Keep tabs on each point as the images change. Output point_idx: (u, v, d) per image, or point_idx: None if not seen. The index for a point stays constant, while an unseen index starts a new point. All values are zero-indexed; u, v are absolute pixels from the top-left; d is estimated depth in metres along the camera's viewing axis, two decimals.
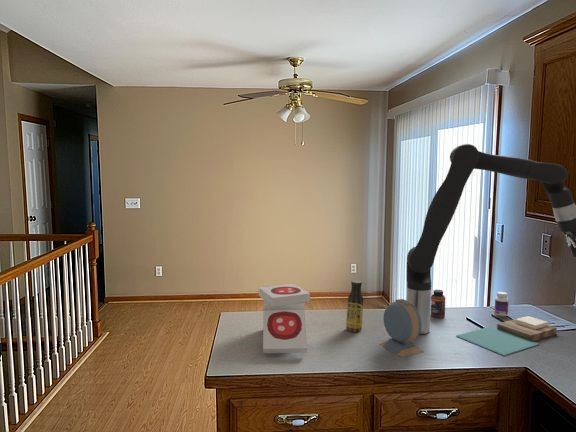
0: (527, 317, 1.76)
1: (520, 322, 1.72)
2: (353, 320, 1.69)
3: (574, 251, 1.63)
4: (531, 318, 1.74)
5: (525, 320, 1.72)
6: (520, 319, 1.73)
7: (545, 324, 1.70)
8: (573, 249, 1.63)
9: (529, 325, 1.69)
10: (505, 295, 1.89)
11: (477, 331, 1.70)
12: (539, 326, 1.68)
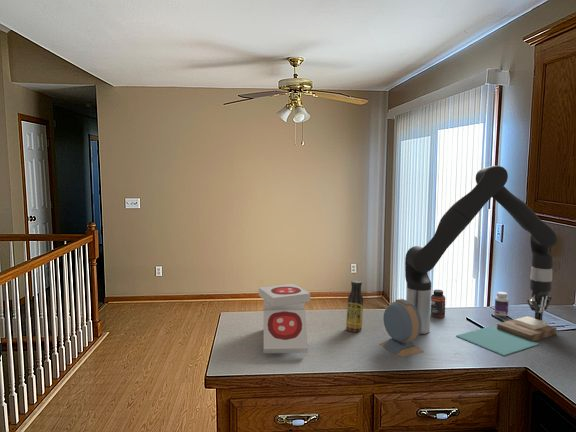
0: (526, 317, 1.75)
1: (519, 322, 1.72)
2: (353, 320, 1.69)
3: None
4: (530, 318, 1.74)
5: (525, 320, 1.72)
6: (519, 319, 1.73)
7: (544, 324, 1.70)
8: None
9: (528, 325, 1.68)
10: (505, 295, 1.89)
11: (477, 331, 1.70)
12: (538, 326, 1.68)
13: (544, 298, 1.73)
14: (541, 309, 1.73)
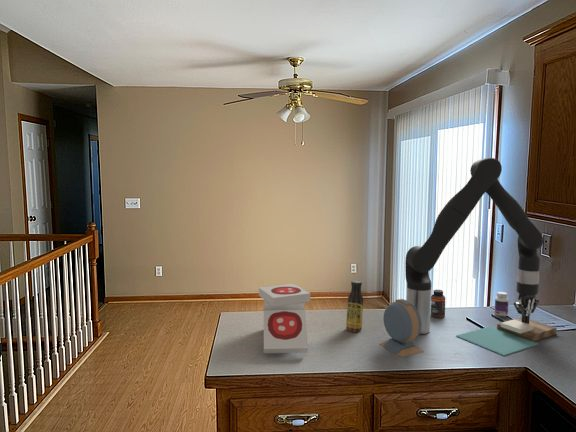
0: (513, 321, 1.71)
1: (505, 326, 1.68)
2: (353, 320, 1.69)
3: None
4: (517, 322, 1.70)
5: (511, 324, 1.68)
6: (506, 323, 1.69)
7: (531, 328, 1.66)
8: None
9: (514, 329, 1.64)
10: (505, 295, 1.89)
11: (477, 331, 1.70)
12: (525, 330, 1.64)
13: (531, 301, 1.69)
14: (528, 312, 1.69)
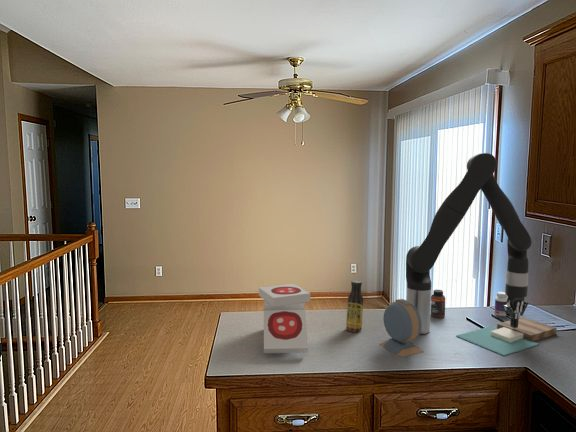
0: (503, 329, 1.68)
1: (495, 334, 1.65)
2: (353, 320, 1.69)
3: None
4: (507, 330, 1.67)
5: (501, 332, 1.65)
6: (495, 331, 1.66)
7: (521, 336, 1.63)
8: None
9: (504, 337, 1.61)
10: (505, 295, 1.89)
11: (477, 331, 1.70)
12: (514, 339, 1.61)
13: (520, 304, 1.65)
14: (517, 315, 1.66)
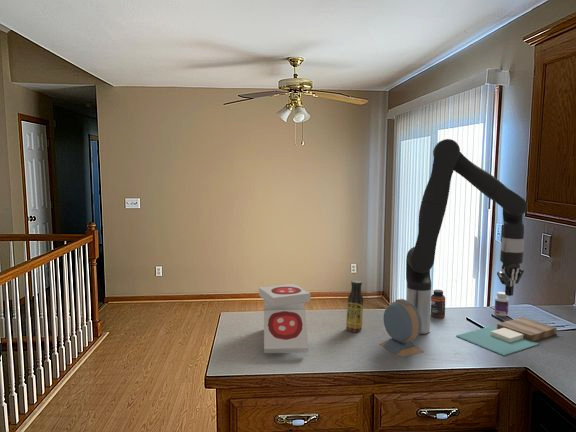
0: (503, 329, 1.68)
1: (495, 334, 1.65)
2: (353, 320, 1.69)
3: None
4: (507, 330, 1.67)
5: (501, 332, 1.65)
6: (495, 331, 1.66)
7: (521, 337, 1.63)
8: None
9: (504, 337, 1.61)
10: (505, 295, 1.89)
11: (477, 331, 1.70)
12: (514, 339, 1.61)
13: (515, 271, 1.61)
14: (512, 282, 1.62)
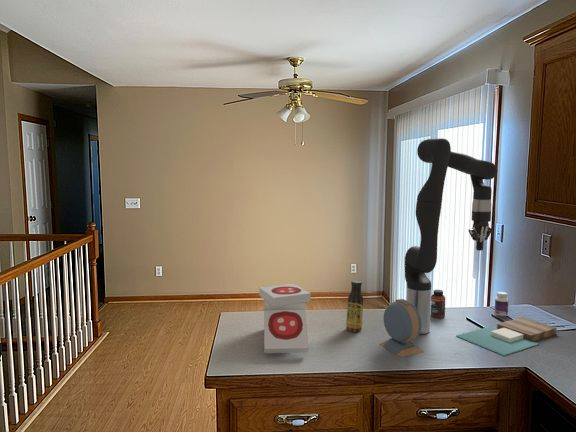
0: (503, 329, 1.68)
1: (495, 334, 1.65)
2: (353, 320, 1.69)
3: None
4: (507, 330, 1.67)
5: (501, 332, 1.65)
6: (495, 331, 1.66)
7: (521, 337, 1.63)
8: None
9: (504, 337, 1.61)
10: (505, 295, 1.89)
11: (477, 331, 1.70)
12: (514, 339, 1.61)
13: (484, 228, 1.85)
14: (482, 239, 1.85)
